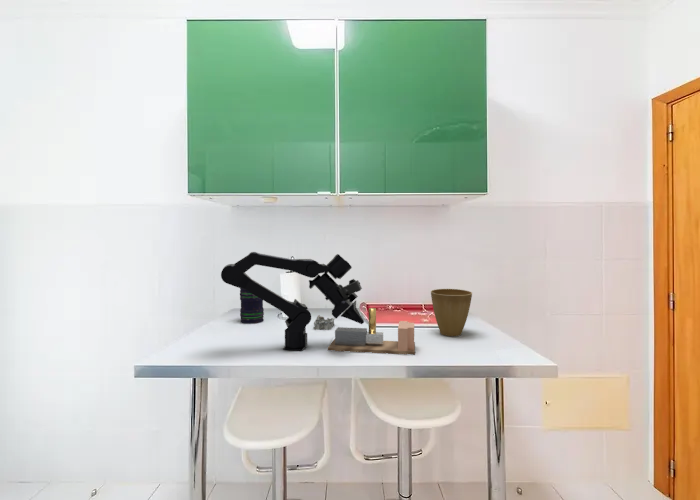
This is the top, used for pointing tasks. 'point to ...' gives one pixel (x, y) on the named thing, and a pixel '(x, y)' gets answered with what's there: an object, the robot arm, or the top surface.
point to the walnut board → (372, 348)
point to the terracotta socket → (405, 336)
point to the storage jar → (251, 308)
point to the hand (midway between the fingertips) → (363, 322)
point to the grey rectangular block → (350, 336)
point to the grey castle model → (323, 323)
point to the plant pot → (451, 310)
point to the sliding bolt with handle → (373, 329)
